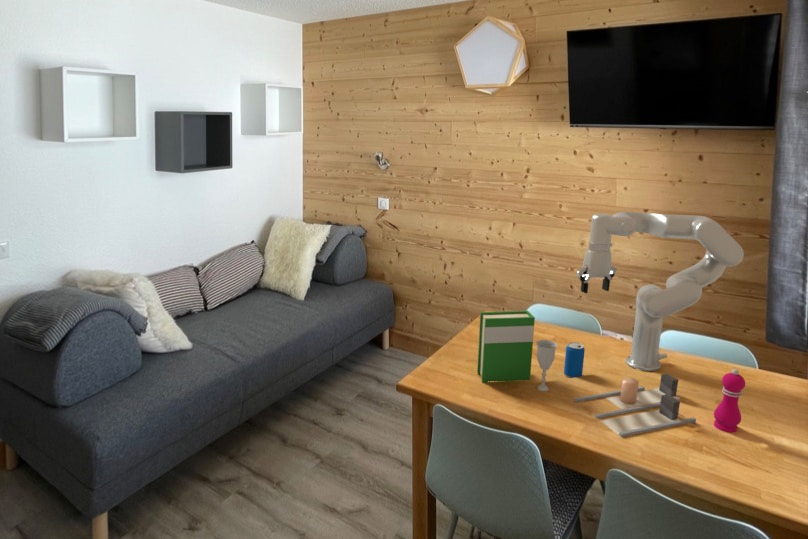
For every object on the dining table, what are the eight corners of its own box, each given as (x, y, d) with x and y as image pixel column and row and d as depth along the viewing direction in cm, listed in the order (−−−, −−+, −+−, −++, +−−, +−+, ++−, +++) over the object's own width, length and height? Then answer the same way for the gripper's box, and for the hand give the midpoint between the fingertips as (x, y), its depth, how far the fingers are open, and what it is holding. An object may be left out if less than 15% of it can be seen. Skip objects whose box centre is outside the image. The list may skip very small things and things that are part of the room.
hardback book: (482, 382, 198) (485, 319, 192) (477, 373, 205) (480, 312, 199) (529, 380, 200) (534, 317, 194) (523, 371, 207) (527, 310, 201)
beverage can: (582, 380, 200) (586, 349, 197) (564, 378, 201) (567, 347, 198) (580, 372, 206) (584, 342, 203) (563, 371, 208) (565, 341, 205)
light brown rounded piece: (628, 395, 186) (631, 376, 184) (639, 402, 182) (642, 383, 180) (616, 398, 185) (618, 378, 183) (627, 405, 180) (629, 385, 178)
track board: (640, 391, 192) (641, 385, 192) (696, 426, 170) (697, 419, 170) (572, 403, 183) (573, 397, 183) (622, 442, 162) (623, 435, 161)
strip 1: (661, 388, 193) (664, 371, 191) (679, 399, 185) (682, 381, 184) (604, 399, 185) (606, 381, 183) (621, 410, 178) (623, 392, 176)
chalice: (529, 387, 194) (533, 339, 190) (548, 387, 195) (552, 339, 190) (536, 397, 187) (540, 348, 182) (555, 397, 188) (560, 347, 183)
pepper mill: (713, 420, 174) (723, 362, 169) (739, 428, 170) (750, 368, 165) (710, 431, 168) (720, 370, 163) (737, 438, 164) (749, 376, 159)
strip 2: (662, 410, 178) (664, 391, 176) (681, 423, 171) (684, 403, 169) (600, 422, 170) (602, 403, 169) (617, 436, 163) (620, 416, 161)
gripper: (611, 243, 212) (607, 286, 216) (573, 246, 206) (569, 290, 211) (625, 247, 205) (620, 292, 210) (586, 250, 200) (581, 296, 204)
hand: (594, 291), depth 210 cm, fingers open, 9 cm apart
